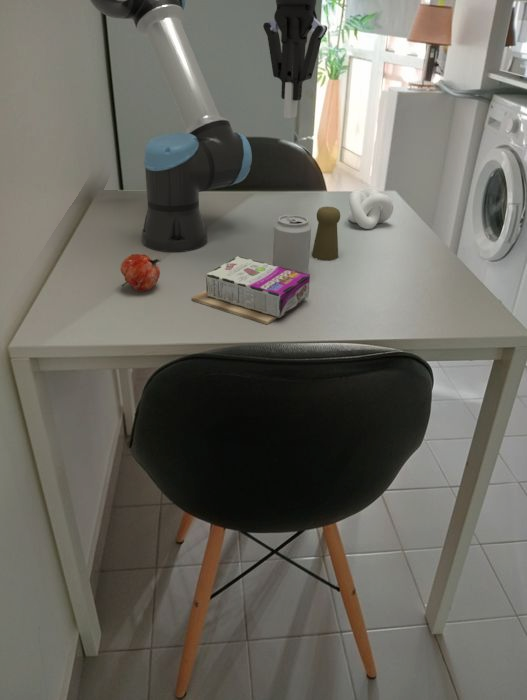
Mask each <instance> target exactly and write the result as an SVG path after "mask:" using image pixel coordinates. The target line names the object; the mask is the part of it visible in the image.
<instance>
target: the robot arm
mask: <svg viewBox="0 0 527 700" xmlns="http://www.w3.org/2000/svg"><path fill="white" fill-rule="evenodd" d="M89 1H90V2H91V4H92V5H93V7H94V8H95V9H96V10H98V11H99V13H102V14H103V15H105V16H107V17H109V18H113V19H122V20H124V19H125V20H126V19H127V20H128V19H129V20H132V21H133V24H134V25H135V27H136V28H135V29H136V30H137V33H138V34H139V35H140V36H142V37H145V38H147V40H148V42H149V45H150V47H151V49H152V52H153V54H154V57H155V58H156V61H157V64H158V66H159V69H160V72H161V73H162V75H163V78H164V80H165V83H166V85H167V87H168V90H169V92H170V95H171V98H172V100H173V102H174V104H175V107H176V109H177V113H178V114H179V116H180V119H181V121H182V124H183V126H184V129H185V132H176V133H165V134H161V135H158V136H156V137H152V138H151V139H150V140H148V141H147V142H146V145H145V147H144V160H143V165H144V171H145V184H146V200H147V212H146V215H145V218H144V223H143V228H142V229H141V230H142V231H141V239H142V241H141V242H142V244H143V245H144V246H146V247H147V248H149V249H152V250H157V251H160V252H173V253H174V252H185V251H186V252H187V251H192V250H196V249H199V248H201V247H203V246H205V244H207V243H208V231H207V228H206V226H205V222H204V221H203V216H202V213H201V210H200V192H206V191H210V190H215V189H219V188H225V187H226V188H227V187H231V186H233V185H235V184H239V183H241V182H243V181H244V180H245V179H246V177H247V176H248V175H249V173H250V170H251V165H252V161H253V155H252V147H251V145H250V142H249V140H248V139H247V137H246V136H245V135H242V133H240V132H237V131H236V132H234V131H233V128H232V126H231V124H230V121H229V120H228V119H227V118H226V117H222V116H220V113H219V111H218V109H217V107H216V103H215V101H214V99H213V97H212V95H211V92H210V90H209V87H208V84H207V82H206V79H205V77H204V75H203V73H202V71H201V68H200V65H199V63H198V61H197V58H196V55H195V53H194V50H193V49H192V46H191V44H190V41H189V39H188V36H187V34H186V31H185V29H184V26H183V24H182V21H183V18H184V14H185V13H184V9H185V7H186V0H89ZM275 4H276V9H275V12H274V17H273V18H272V19H271V20H269V22H264V23H263V25H262V26H263V30H264V31H265V35H266V36H267V41H268V42H267V43H268V49H269V56H270V61H271V62H270V63H271V68H272V74H273V75H272V76H273V77H274V78H277V79H279V81H281V96H280V97H281V99H282V100H284V104H283V105H284V107H283V118H284V119H294V118H297V117H298V103H299V101H301V99H302V95H303V92H302V91H303V82H305V81H308V80H310V79H312V77H313V73H314V69H315V66H316V63H317V59H318V54H319V51H320V47H321V43H322V41H323V38H324V36H325V35H326V33H327V31H328V26H327V25H323V24H322V23H321V22H320V21H318V20H317V18H318V16H317V15H318V14H317V13H316V4H317V0H275ZM279 31H280V33H279ZM310 31H311V32H310ZM309 33H311V35H310V38H309V42H308V35H309ZM279 34H280V35H279ZM307 43H308V44H307ZM306 45H307V49H306Z"/></svg>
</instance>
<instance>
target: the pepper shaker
mask: <svg viewBox="0 0 527 700" xmlns="http://www.w3.org/2000/svg"><path fill="white" fill-rule="evenodd" d="M340 219H341V212H340V209H338V208H336V207H333V206H321V207H320V208H319V209H318V210H317V212H316V220H317V222H318V223H317V229H316V232H315V237H314V242H313V248H312V251H311V257H312V258H314V259H316V258H317V259H316V260H319V259H320V260H319V261H327V260H328V261H334V260H336V259H338V258H339V242H338V241H339V240H338V239H339V238H338V237H339V236H338V223H339V222H340Z"/></svg>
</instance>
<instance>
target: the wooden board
mask: <svg viewBox="0 0 527 700" xmlns="http://www.w3.org/2000/svg"><path fill="white" fill-rule="evenodd" d="M191 301H192V302H194V303H195V302H196V303H199V304H201V305H204V306H208V307H211V308H214V309H217V310H220V311H223V312H227V313H230V314H232V315H235V316H239V317H241V318H242V317H243V318H245V319H249V320H251V321H255V322H257V323H261V324H264V325H270V324H271V323H272V322H274V320H276V319H279V318H278V317H275V316H271V315H268V314H265V313H261V312H258V311H255V310H251V309H248V308H245V307H242V306H238V305H235V304H231V303H228V302H224V301H221V300H218V299H214V298H211V297H207V288H206V289H203V291H201V292H199V293H198V294H196V295H193V296H192V297H191Z"/></svg>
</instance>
